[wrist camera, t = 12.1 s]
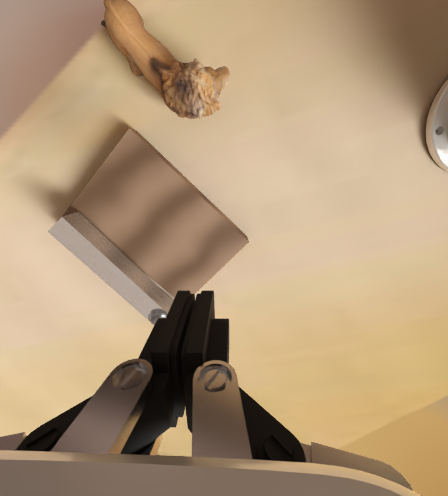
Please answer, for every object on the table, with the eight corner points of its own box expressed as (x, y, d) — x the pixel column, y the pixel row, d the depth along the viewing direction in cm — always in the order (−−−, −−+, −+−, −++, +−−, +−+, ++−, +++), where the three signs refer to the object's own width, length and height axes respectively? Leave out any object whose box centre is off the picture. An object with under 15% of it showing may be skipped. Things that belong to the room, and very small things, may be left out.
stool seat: (247, 236, 32) (248, 242, 29) (173, 308, 35) (169, 318, 33) (137, 131, 28) (129, 128, 25) (65, 223, 31) (53, 228, 29)
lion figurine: (235, 98, 27) (240, 66, 18) (208, 140, 28) (201, 129, 20) (115, -1, 24) (56, -92, 15) (92, 52, 25) (25, -5, 17)
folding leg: (177, 304, 32) (172, 318, 29) (164, 314, 32) (158, 329, 29) (78, 211, 28) (61, 216, 25) (65, 225, 28) (47, 231, 26)
